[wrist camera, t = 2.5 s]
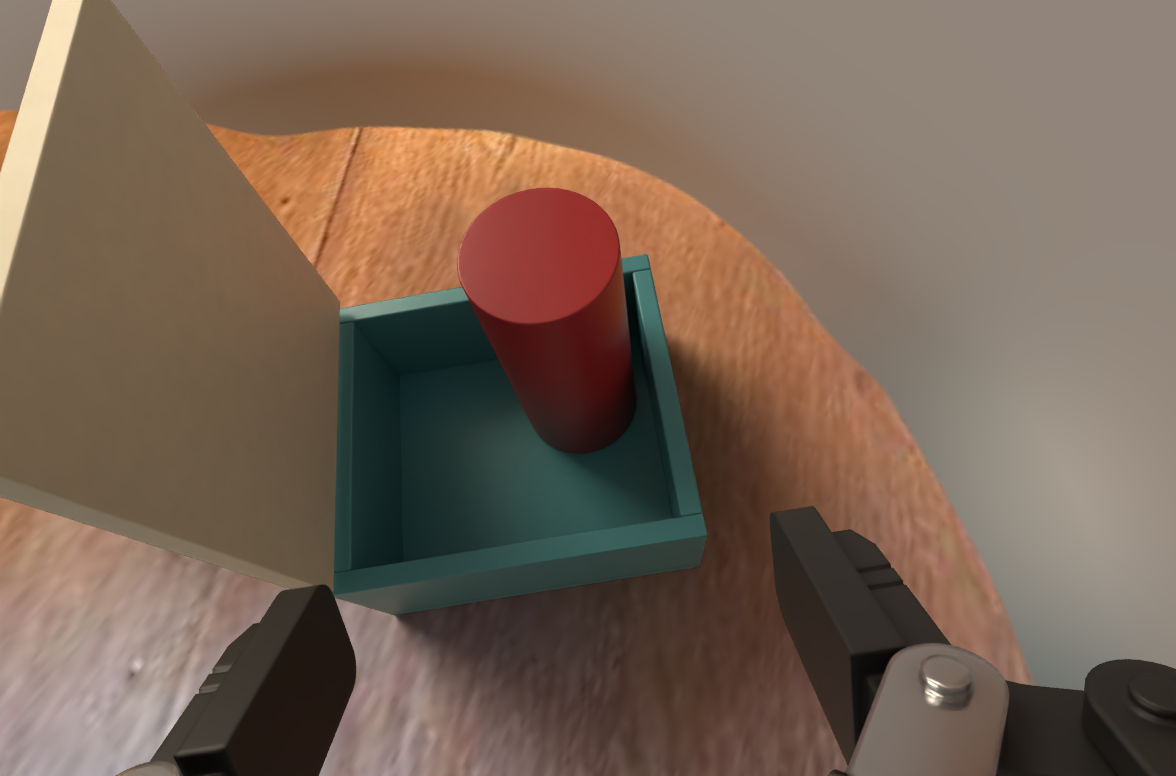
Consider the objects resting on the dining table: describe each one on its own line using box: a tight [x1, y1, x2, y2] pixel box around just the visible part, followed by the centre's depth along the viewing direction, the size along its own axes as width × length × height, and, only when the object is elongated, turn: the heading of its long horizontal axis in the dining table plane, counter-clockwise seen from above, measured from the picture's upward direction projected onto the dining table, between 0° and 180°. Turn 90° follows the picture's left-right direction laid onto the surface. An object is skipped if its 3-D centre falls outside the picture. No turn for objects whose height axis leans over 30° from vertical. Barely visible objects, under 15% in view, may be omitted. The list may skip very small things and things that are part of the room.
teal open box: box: [332, 254, 707, 615], centre depth 29 cm, size 14×12×6 cm
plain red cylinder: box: [457, 188, 636, 453], centre depth 27 cm, size 5×5×12 cm
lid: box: [0, 0, 340, 592], centre depth 20 cm, size 14×12×1 cm
